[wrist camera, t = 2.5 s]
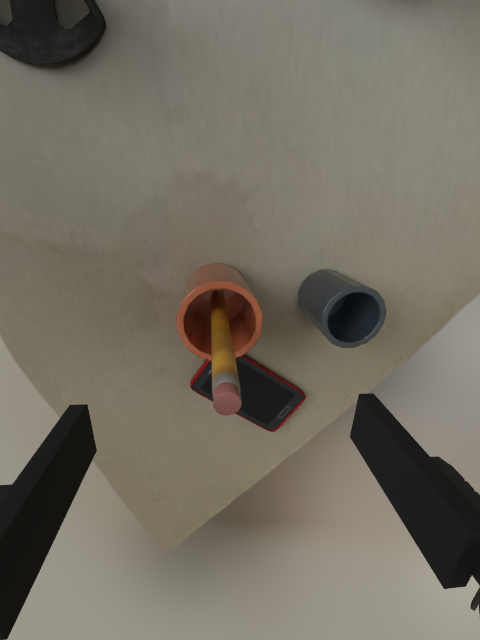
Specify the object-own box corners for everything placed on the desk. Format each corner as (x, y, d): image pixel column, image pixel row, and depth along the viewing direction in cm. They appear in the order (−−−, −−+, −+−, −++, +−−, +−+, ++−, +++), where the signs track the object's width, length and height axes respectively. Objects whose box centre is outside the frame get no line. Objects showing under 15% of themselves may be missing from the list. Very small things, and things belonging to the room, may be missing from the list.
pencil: (210, 290, 33) (212, 392, 14) (224, 290, 33) (243, 391, 15) (211, 303, 33) (212, 417, 15) (224, 303, 33) (242, 416, 15)
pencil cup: (183, 262, 32) (174, 282, 23) (250, 263, 33) (264, 282, 24) (186, 325, 35) (179, 362, 26) (248, 324, 35) (260, 360, 27)
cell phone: (272, 429, 42) (273, 434, 41) (187, 383, 37) (186, 387, 36) (306, 392, 40) (308, 396, 39) (221, 339, 36) (221, 343, 35)
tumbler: (300, 269, 33) (326, 286, 26) (352, 269, 34) (392, 286, 27) (295, 319, 36) (318, 348, 28) (344, 318, 36) (378, 347, 29)
